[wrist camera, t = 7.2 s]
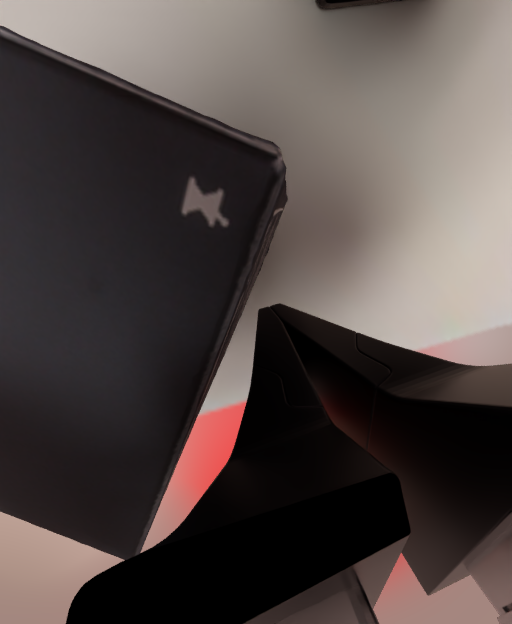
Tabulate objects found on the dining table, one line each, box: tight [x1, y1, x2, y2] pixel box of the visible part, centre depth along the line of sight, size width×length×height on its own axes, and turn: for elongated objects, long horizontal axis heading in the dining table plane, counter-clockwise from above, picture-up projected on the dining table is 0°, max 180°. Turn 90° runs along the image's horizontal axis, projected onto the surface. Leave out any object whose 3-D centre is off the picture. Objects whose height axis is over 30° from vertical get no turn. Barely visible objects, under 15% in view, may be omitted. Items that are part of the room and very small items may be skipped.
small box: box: [0, 26, 288, 560], centre depth 9 cm, size 11×6×10 cm, turn 158°
